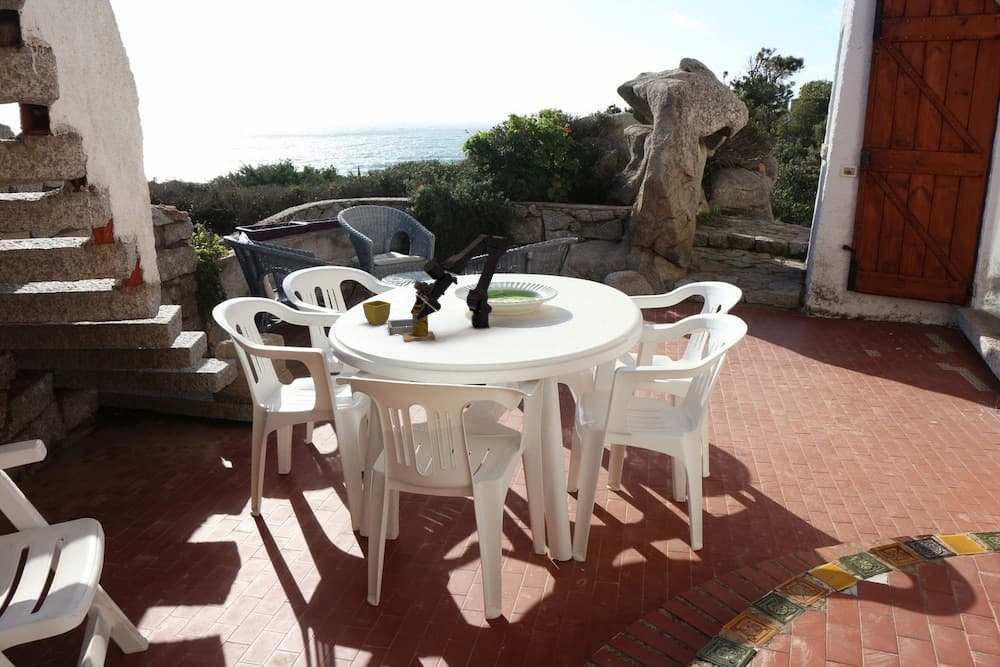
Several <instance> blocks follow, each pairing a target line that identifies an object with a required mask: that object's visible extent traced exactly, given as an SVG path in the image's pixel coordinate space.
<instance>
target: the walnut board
mask: <svg viewBox="0 0 1000 667" xmlns="http://www.w3.org/2000/svg"><path fill="white" fill-rule="evenodd" d="M412 333H413V332H412ZM428 333H429V334H431V336H426V337H420V338H414V339H413V338H411V337H409V336H407V335H406V334H410V333H403V335H402V338H404V339H403V342H404V343H412V342H411V341H416V342H426V341H425V340H430V341H436V337H435V334H434V332H433V330H428Z"/></svg>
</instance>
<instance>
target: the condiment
mask: <svg viewBox="0 0 1000 667" xmlns="http://www.w3.org/2000/svg"><path fill="white" fill-rule="evenodd" d="M423 306H424V305H422V304H419V305H414V304H413V305H412V308H413V313H412V318H411V319H413V333H410V334H406V335H407V336H409V337H411V338H413V339H414V338H420V337H426V336H431V334H429V333H428V331H429V317H428V316H429V315H427V316H425V317H423V318H421V319H417V318H416V317H417V315H418V314H419V312H420V311H421V309H422V308H423Z"/></svg>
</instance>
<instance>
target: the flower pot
mask: <svg viewBox="0 0 1000 667" xmlns="http://www.w3.org/2000/svg"><path fill="white" fill-rule="evenodd" d="M391 304H392V303H391V302H387V301H384V300H379V299H377V300H373V301H368V302H364V303H362V308H363V314H364V317H365V318H366V321H367V322H368V323H369V324H370V323H371V324H372V325H373V326H380V325H383V323H384V324H386V323H388V319H389V318H390V313H391ZM371 324H370V325H371ZM379 324H380V325H379Z"/></svg>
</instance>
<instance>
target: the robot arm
mask: <svg viewBox="0 0 1000 667" xmlns="http://www.w3.org/2000/svg"><path fill="white" fill-rule="evenodd" d="M485 247H487V248H486V249H487V257H486V259H485V260H486V261H485V262H484V266H483V268H482V271H481V273H480V276H479V279H478V281H477V284H476V286H475V288H473V289H472V288H469V290H468V294H467V296H465V298H466V302H465V303H466V306H467V308H468V309H469V312H472V315H471V321H470V322H471V324H470V325H471V326H472V327H473V329H485V328H486V327H488V328H490V327H491V326H490V318H489V314H491V313H492V311H493V307H492V306H491V305H490V304H489V303H488V300H489V293H488V291H489V288H490V285H491V282H492V280H493V277H494V275H495V272H496V269H497V267H498V264H499V262H500V260H501V259H502V258H503V257H504V255H506V253H507V252H508V249H509V248H510V242H509V240H508V238H507V237H503V236H497V235H493V236H490V235H486V234H479V235H478V236H477V238H476V239H475V240H473V241H472V242H471V243H470V244H469V245H468V246H467V247H466V248H464V249H463V250H462V251H460V252H459V253H458V254H455V255H452V256H451V257H449V258H447V259H445V261H444V262H440V261H439V259H437V258H435V257H432V259H429V261H427V262H426V263H425V264H424V265H423V266H422V268H423V270H422V271H423V272H424V273H425V274H426V275H427V276H428V277H430V278H431V279H432V280H433V282H429V283H428V282H426V281H421V280H417V279H416V280H415V282H414V285H413V289H415V290H416V291H415V294H414V296H415V301H414V304H413V306H414V305H419V304H422V305H424V306H423V308H422V309H421V311H420V312H419V314H418V315H417V317H416V318H417V319H421V318H423V317H425V316H427V315H428V316H429V315H432V314H433V313H437V312H439V311H440V310H441V309H442V304H441V303H440V302H439V299H440V298H441V297H442V296H445V295H446V291H447V290H448V288H450V286H451V285H452V284H454V285H456V286H457V285H458V283H459V282H458V277H457V276H455V275H461V274H462V273H463V272H464V270H465V269H467V266H468V264H469V262H471V260H472V259H474V257H475V256H476V255H478V254H479V253H480V252H481V251H482V250H483V249H485ZM453 275H454V276H453ZM412 313H413V307H412V308H411V310H410V314H412ZM486 329H487V328H486Z"/></svg>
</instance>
